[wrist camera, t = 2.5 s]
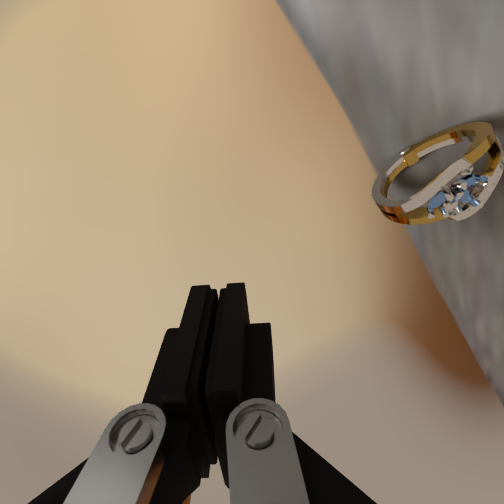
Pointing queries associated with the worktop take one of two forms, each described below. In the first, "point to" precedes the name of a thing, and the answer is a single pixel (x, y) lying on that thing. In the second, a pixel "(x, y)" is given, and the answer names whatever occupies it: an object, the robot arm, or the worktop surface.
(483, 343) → the worktop surface
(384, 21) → the worktop surface
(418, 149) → the ring
